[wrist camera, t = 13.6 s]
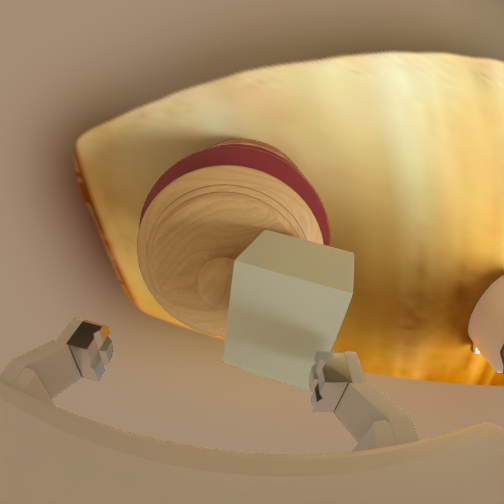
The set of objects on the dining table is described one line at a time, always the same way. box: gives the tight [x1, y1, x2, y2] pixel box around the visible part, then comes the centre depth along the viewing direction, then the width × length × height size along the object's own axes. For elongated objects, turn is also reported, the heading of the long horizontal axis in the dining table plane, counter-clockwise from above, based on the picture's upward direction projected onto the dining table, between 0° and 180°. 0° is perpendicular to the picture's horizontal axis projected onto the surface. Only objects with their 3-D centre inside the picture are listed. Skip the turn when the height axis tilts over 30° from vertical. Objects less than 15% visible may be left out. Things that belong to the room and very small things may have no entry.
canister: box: [137, 139, 330, 337], centre depth 22 cm, size 13×13×18 cm
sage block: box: [223, 230, 354, 391], centre depth 13 cm, size 4×6×4 cm
